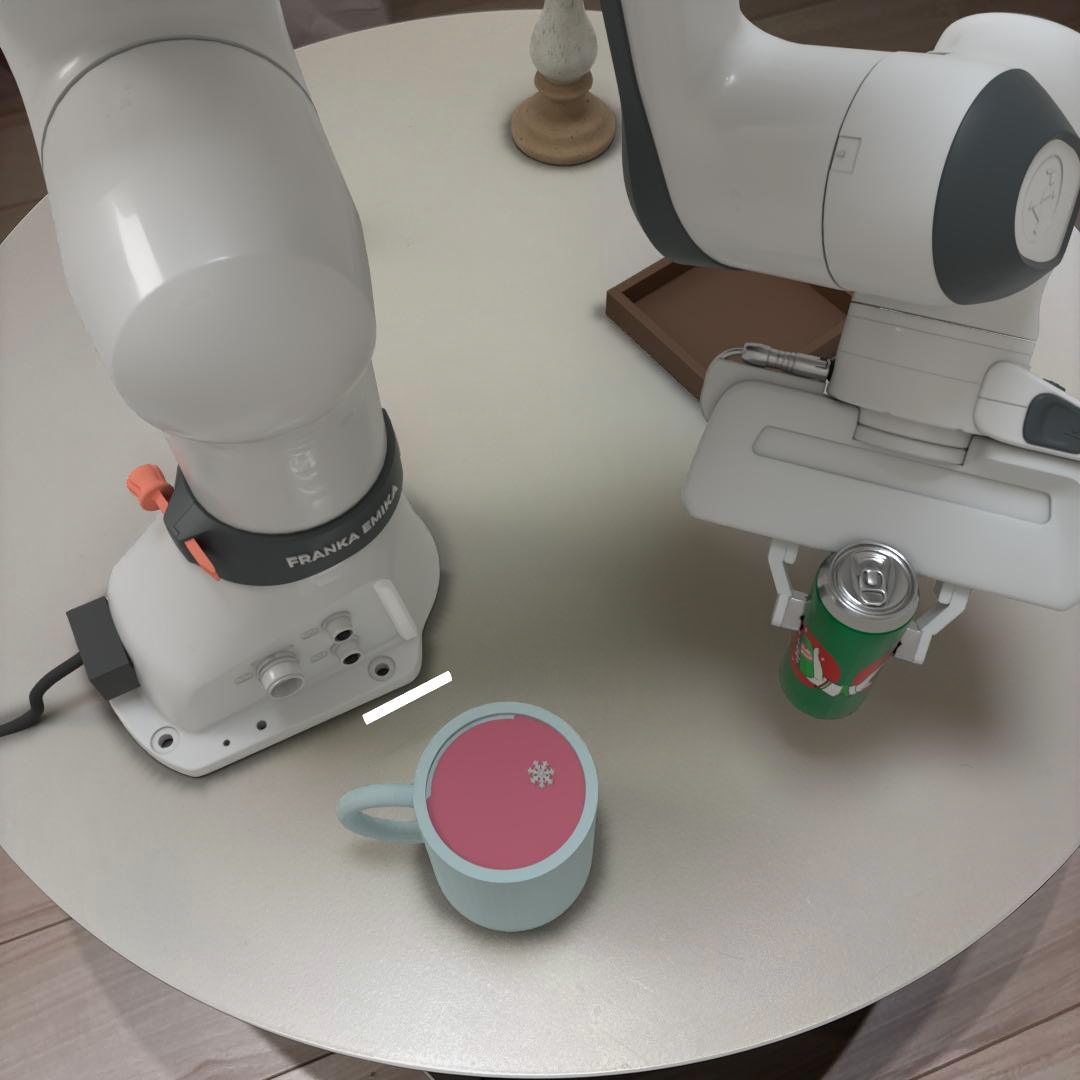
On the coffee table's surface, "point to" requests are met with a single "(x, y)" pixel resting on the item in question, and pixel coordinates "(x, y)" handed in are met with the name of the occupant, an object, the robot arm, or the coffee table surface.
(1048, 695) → the coffee table surface
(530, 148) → the candle holder
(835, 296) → the tray
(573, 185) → the coffee table surface
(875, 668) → the soda can
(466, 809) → the mug
